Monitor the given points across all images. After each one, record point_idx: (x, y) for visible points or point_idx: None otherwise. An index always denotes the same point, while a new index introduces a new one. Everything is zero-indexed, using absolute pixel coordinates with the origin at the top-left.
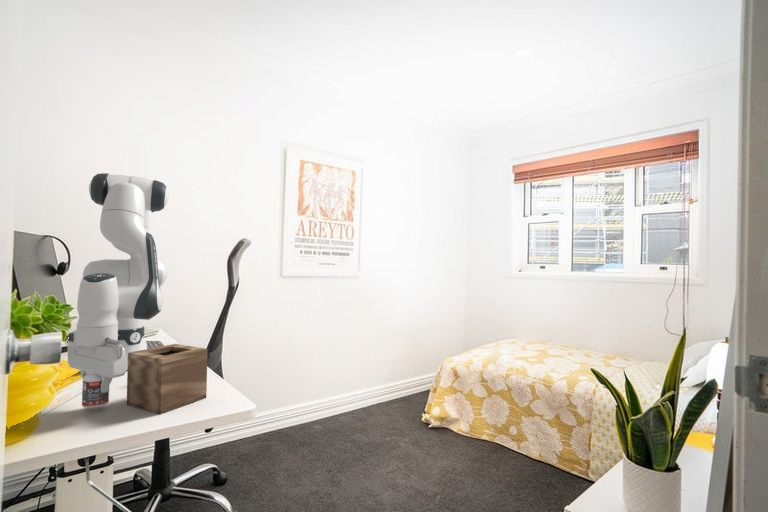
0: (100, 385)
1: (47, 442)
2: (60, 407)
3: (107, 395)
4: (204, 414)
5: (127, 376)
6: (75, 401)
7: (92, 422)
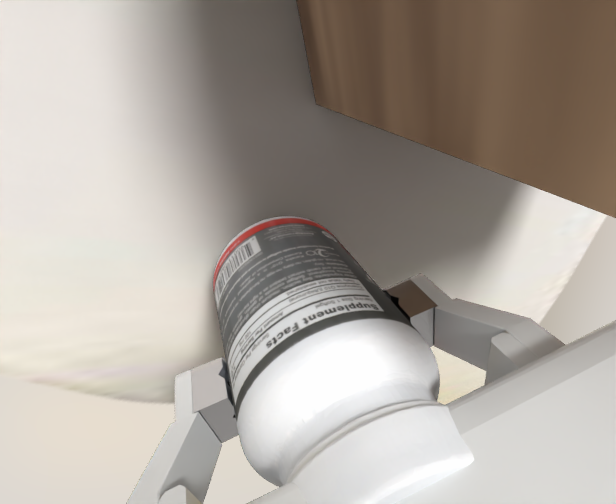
0: (430, 346)
1: (462, 364)
2: (106, 380)
3: (343, 249)
4: None
5: (447, 151)
6: (7, 334)
7: (425, 275)
